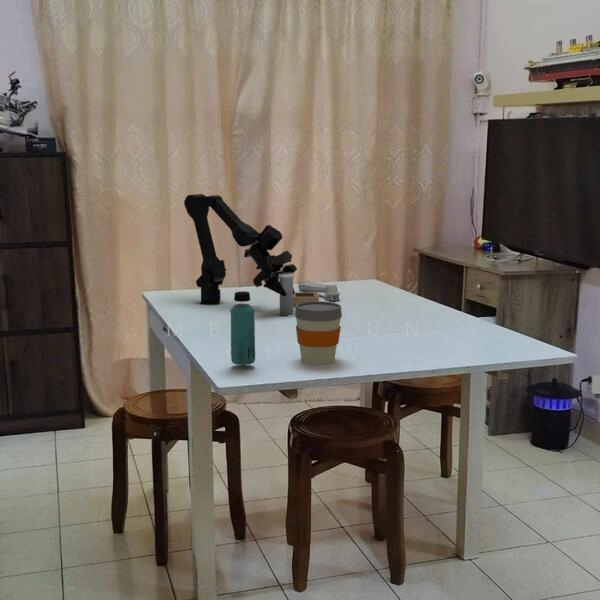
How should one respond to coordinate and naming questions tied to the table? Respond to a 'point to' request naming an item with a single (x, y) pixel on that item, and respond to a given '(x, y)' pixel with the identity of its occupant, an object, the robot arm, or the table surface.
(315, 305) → the reusable coffee cup
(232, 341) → the beverage bottle
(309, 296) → the socket flange
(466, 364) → the table surface
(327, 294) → the white elongated device
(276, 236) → the robot arm
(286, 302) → the tube
